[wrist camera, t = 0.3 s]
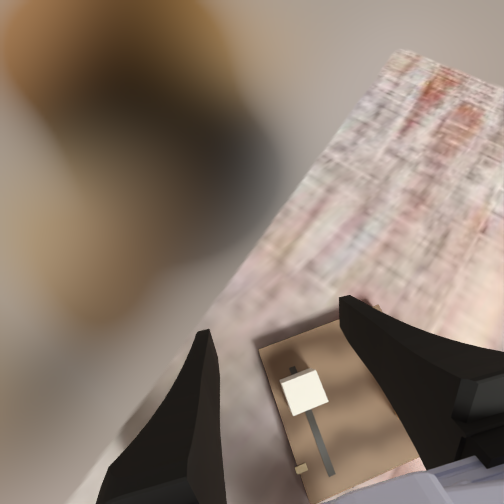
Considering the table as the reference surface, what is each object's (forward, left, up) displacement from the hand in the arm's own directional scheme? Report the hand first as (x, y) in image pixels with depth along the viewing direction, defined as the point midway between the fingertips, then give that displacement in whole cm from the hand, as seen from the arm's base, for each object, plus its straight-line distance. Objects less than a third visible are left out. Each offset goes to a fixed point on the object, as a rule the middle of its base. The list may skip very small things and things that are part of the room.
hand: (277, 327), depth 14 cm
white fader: (-8, -3, -28) cm, 29 cm away
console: (-11, -9, -30) cm, 33 cm away
